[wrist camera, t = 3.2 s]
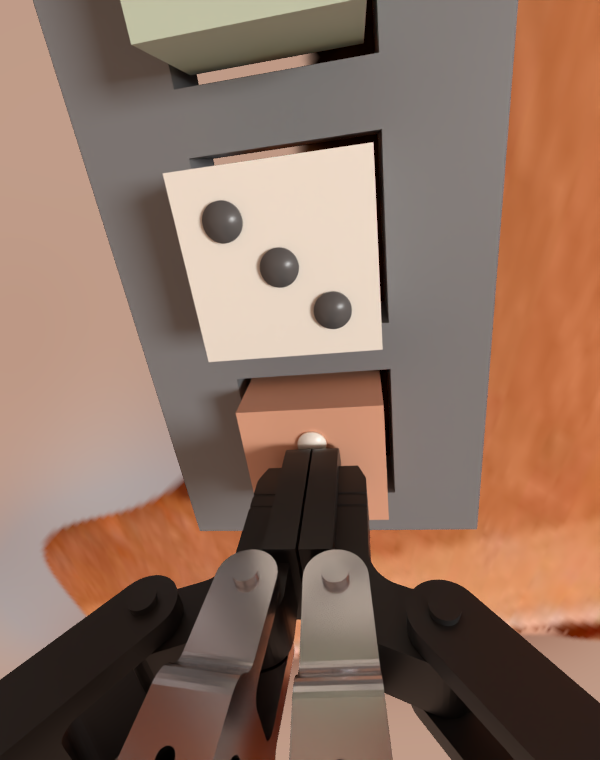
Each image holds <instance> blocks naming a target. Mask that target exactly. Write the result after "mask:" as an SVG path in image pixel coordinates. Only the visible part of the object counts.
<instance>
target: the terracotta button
mask: <svg viewBox="0 0 600 760" xmlns="http://www.w3.org/2000/svg"><path fill="white" fill-rule="evenodd" d="M236 417H237V421H238V426H239V430H240V434H241V439H242V443H243V448H244V452H245V457H246V461H247V465H248V470H249V474H250V479H251V483H252V487H253V492H255V488H256V485H257V482H258V480H259V479H260V477H261V476H262V475H263V474H264V473H265V472H266V471H267V470H268V468H282V464H283V460H284V456H285V452H286V450H298V449H312V451H313V449H322V448H339V451H340V460H341V466H356V465H358V466H359V468H360V469H361V471H362V472H363V474H364V475H365V477H366V483H367V497H368V511H369V520H389V511H388V490H387V468H386V447H385V425H384V405H383V396H382V388H381V379H380V371H379V370H368V371H352V372H337V373H322V374H306V375H291V376H275V377H260V378H252V379H251V381H250V384H249V386H248V388H247V390H246V392H245V394H244V396H243V398H242V401H241V403H240V405H239V407H238V409H237V411H236Z"/></svg>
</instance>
